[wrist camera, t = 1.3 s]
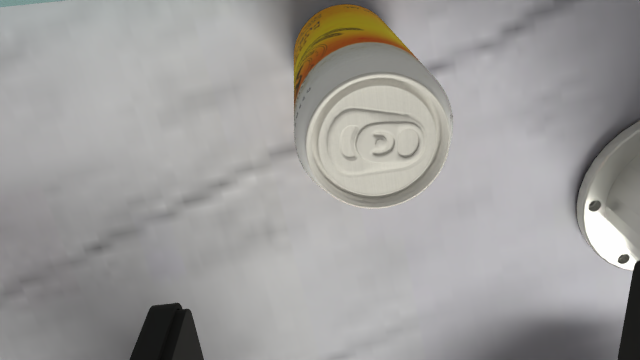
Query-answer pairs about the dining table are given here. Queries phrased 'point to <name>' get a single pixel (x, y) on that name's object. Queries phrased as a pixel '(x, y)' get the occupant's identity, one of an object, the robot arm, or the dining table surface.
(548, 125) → the dining table surface
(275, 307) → the dining table surface
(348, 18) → the beer can
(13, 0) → the tray
